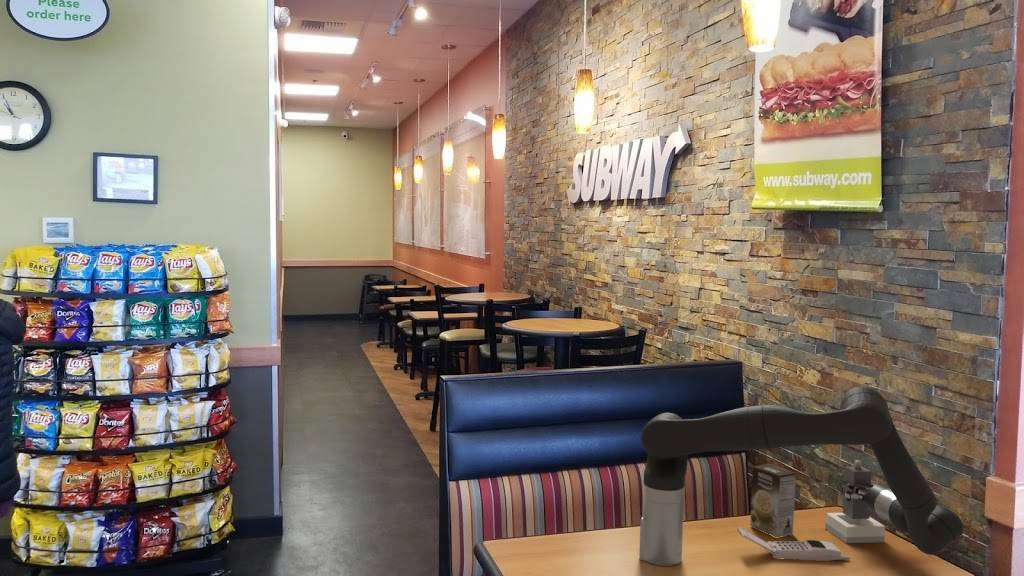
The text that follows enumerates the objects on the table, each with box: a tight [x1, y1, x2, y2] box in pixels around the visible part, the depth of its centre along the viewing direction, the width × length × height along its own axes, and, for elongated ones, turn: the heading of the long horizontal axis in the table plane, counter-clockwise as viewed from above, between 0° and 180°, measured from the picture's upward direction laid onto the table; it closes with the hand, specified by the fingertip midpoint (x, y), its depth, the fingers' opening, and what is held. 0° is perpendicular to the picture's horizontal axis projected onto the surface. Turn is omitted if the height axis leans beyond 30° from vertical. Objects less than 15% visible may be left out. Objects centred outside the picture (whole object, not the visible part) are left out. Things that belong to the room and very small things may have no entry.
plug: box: [842, 459, 872, 519], centre depth 199 cm, size 4×4×14 cm
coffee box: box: [749, 463, 797, 537], centre depth 201 cm, size 9×6×16 cm
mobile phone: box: [736, 526, 850, 562], centre depth 185 cm, size 6×6×25 cm
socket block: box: [824, 512, 886, 544], centre depth 199 cm, size 10×10×4 cm
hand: (851, 483), depth 201 cm, fingers closed on plug, 4 cm apart
